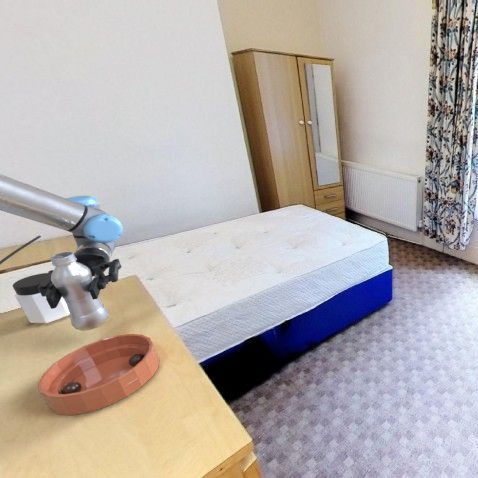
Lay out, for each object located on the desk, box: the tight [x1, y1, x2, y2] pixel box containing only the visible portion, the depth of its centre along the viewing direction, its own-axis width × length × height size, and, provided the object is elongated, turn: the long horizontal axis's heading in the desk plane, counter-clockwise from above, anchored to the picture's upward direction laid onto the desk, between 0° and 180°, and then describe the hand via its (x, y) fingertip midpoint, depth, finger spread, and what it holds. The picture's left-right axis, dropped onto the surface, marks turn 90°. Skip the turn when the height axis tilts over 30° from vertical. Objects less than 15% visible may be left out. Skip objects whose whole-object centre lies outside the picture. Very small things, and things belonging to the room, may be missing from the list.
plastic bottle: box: [49, 251, 110, 332], centre depth 77 cm, size 6×7×20 cm
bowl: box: [37, 333, 160, 416], centre depth 72 cm, size 18×18×6 cm
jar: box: [12, 272, 70, 324], centre depth 91 cm, size 9×8×12 cm
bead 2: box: [129, 354, 145, 367], centre depth 76 cm, size 3×3×3 cm
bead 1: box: [61, 382, 82, 394], centre depth 68 cm, size 3×3×3 cm
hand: (72, 298), depth 73 cm, fingers closed on plastic bottle, 6 cm apart
